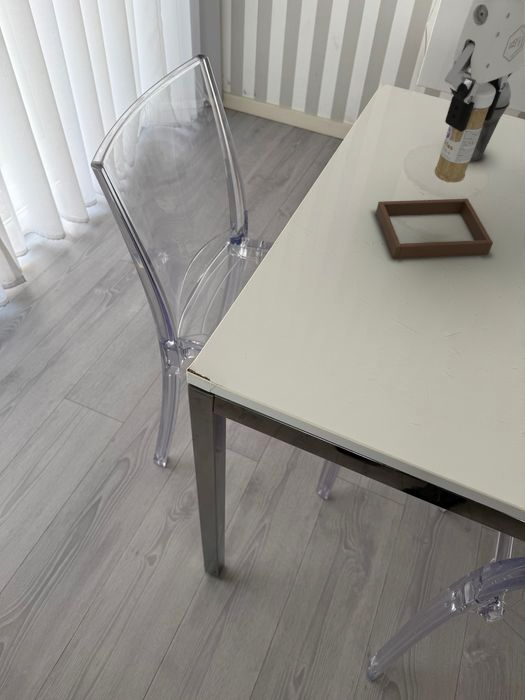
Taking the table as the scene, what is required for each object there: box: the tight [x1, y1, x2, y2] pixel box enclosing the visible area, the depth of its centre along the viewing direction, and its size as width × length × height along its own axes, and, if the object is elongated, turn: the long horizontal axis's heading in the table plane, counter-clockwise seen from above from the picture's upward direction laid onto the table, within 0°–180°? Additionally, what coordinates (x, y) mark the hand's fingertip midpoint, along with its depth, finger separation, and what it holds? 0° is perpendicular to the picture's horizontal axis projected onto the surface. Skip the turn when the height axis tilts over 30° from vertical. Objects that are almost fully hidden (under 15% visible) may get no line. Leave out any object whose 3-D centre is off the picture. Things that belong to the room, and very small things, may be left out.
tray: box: [375, 198, 494, 260], centre depth 93 cm, size 16×12×3 cm
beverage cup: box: [469, 81, 512, 162], centre depth 102 cm, size 7×7×20 cm
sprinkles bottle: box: [434, 79, 496, 183], centre depth 80 cm, size 5×5×14 cm
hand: (468, 120), depth 78 cm, fingers closed on sprinkles bottle, 4 cm apart
